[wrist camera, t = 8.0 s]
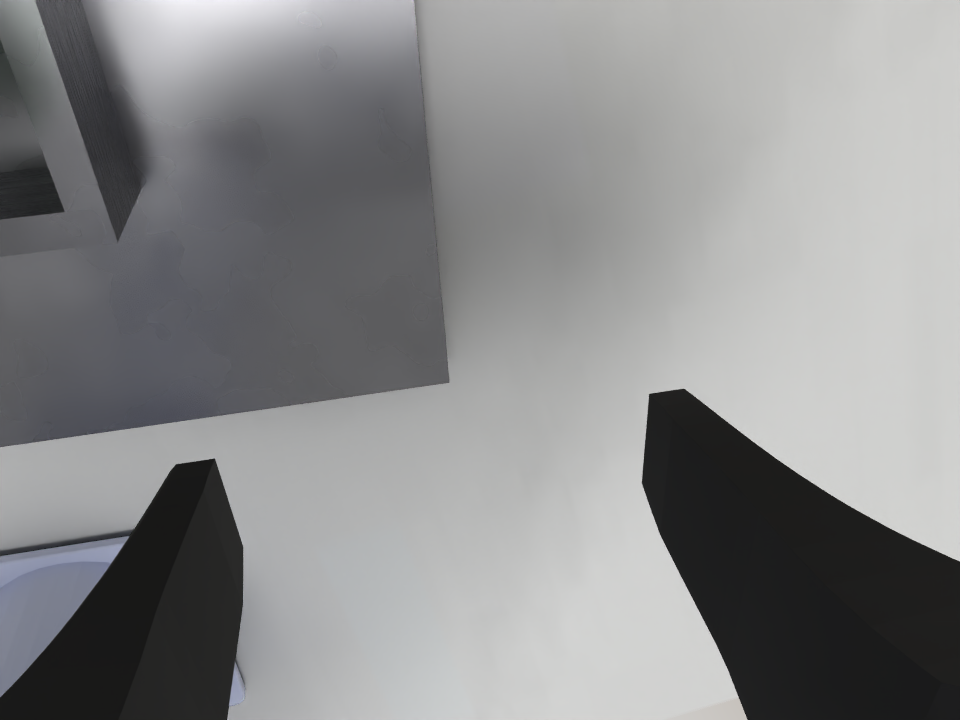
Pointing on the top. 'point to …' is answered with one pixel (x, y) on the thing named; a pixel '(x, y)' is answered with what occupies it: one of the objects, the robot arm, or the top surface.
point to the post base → (210, 210)
